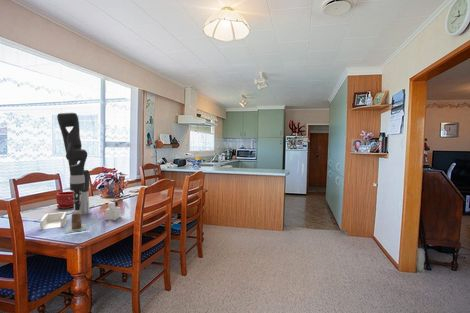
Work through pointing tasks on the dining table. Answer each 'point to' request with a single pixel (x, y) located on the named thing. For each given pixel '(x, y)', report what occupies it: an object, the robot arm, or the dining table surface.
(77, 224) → the walnut block
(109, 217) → the medicine bottle
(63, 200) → the plant pot
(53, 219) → the cream curved tray
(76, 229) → the grey-green mat
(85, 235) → the dining table surface
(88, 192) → the robot arm
